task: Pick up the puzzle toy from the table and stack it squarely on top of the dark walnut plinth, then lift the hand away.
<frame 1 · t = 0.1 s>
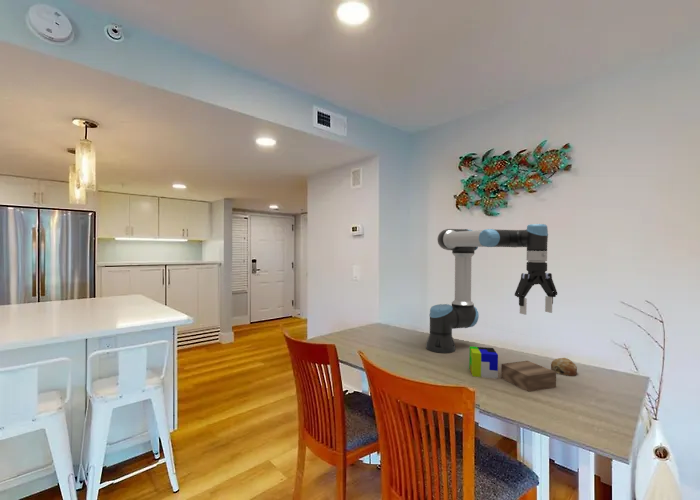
hand: (536, 313, 141), 28 cm above the table, tool pointing down, fingers open, 13 cm apart
walnut plinth: (527, 382, 139), on the table
puzzle toy: (482, 373, 149), on the table
bread roll: (563, 372, 151), on the table
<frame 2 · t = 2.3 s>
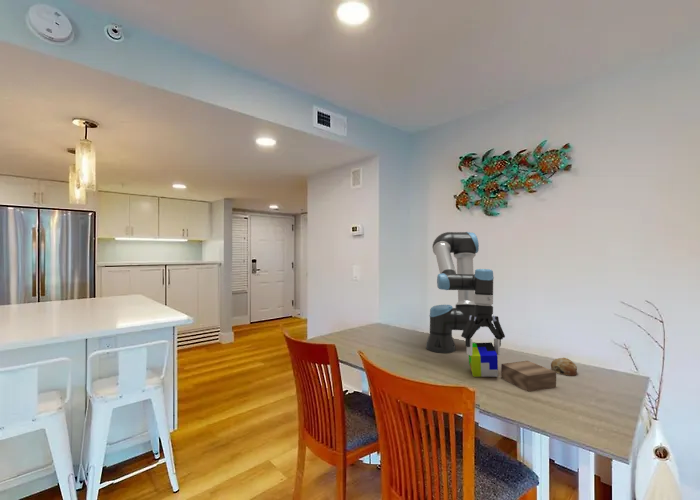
hand: (483, 355, 146), 9 cm above the table, tool pointing down, fingers open, 13 cm apart
puzzle toy: (483, 369, 149), point 2 cm above the table, touching gripper
everything else where it was.
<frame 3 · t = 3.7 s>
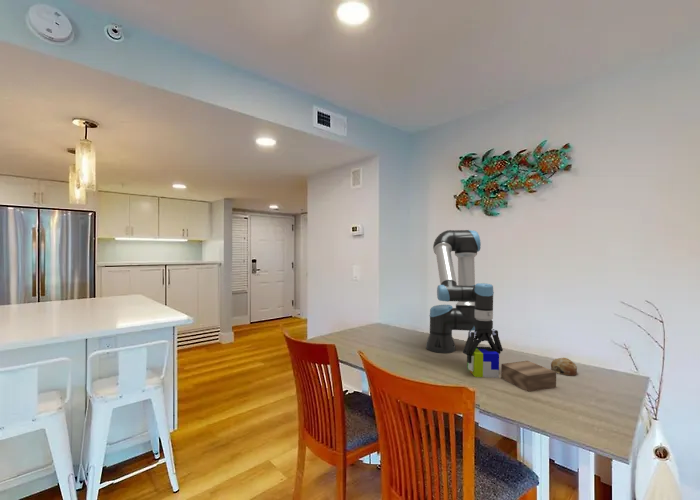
hand: (482, 368, 149), 2 cm above the table, tool pointing down, fingers closed on puzzle toy, 12 cm apart
puzzle toy: (482, 373, 149), on the table, touching gripper
everything else where it was.
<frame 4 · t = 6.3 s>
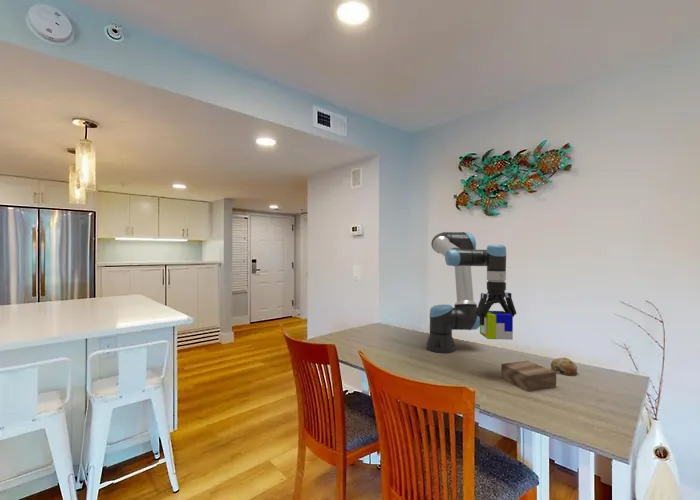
hand: (495, 332, 145), 19 cm above the table, tool pointing down, fingers closed on puzzle toy, 12 cm apart
puzzle toy: (495, 336, 145), point 17 cm above the table, touching gripper
everything else where it was.
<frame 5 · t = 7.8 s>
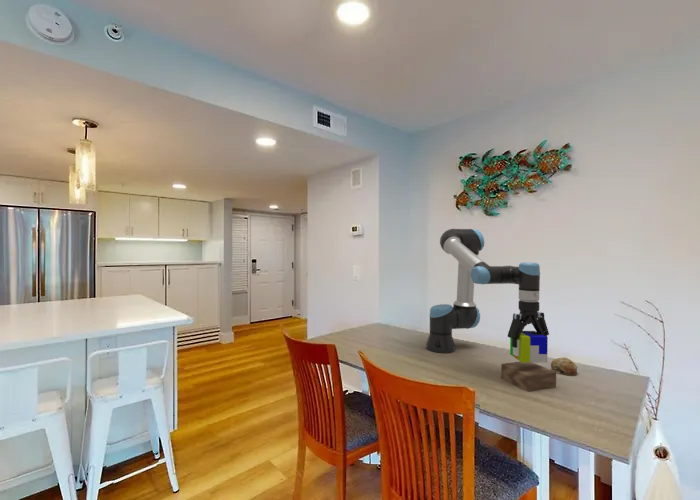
hand: (528, 354, 139), 12 cm above the table, tool pointing down, fingers closed on puzzle toy, 12 cm apart
puzzle toy: (528, 358, 139), point 10 cm above the table, touching gripper
everything else where it was.
when the fingers open (9 cm above the table, at t = 8.9 s): puzzle toy drops 1 cm, resting on walnut plinth.
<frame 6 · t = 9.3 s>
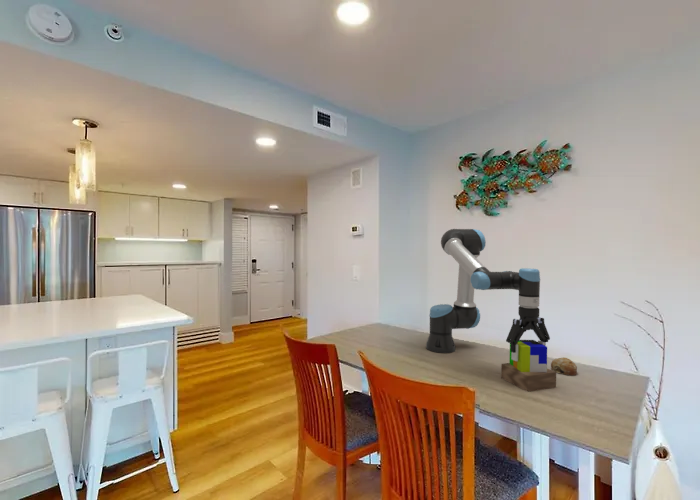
hand: (528, 358, 139), 10 cm above the table, tool pointing down, fingers open, 13 cm apart
puzzle toy: (527, 368, 139), point 6 cm above the table, touching walnut plinth
everything else where it was.
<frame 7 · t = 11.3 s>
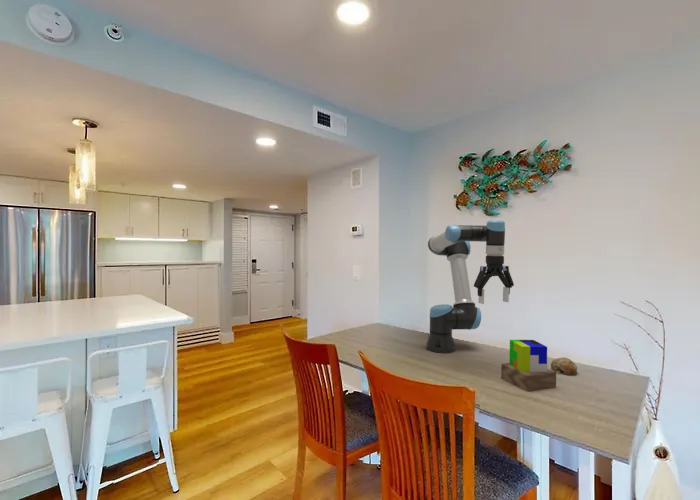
hand: (493, 302, 152), 30 cm above the table, tool pointing down, fingers open, 13 cm apart
nothing on the table moved.
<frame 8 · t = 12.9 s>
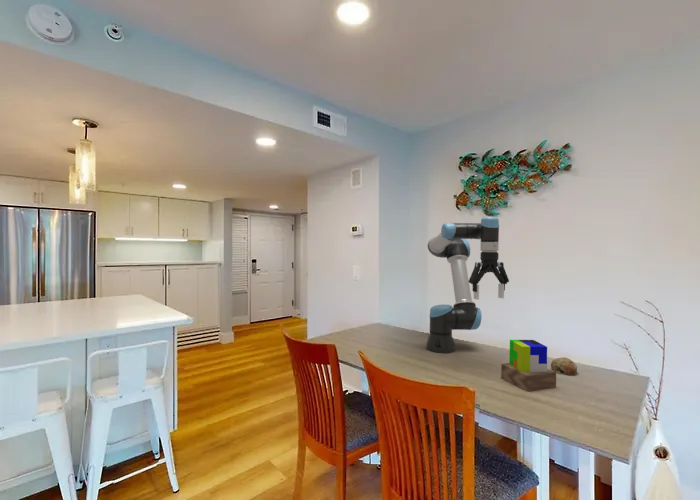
hand: (488, 298, 154), 32 cm above the table, tool pointing down, fingers open, 13 cm apart
nothing on the table moved.
at the end: puzzle toy inside the target area on the walnut plinth (0.3 cm from its centre), point 5.8 cm above the walnut plinth's base; puzzle toy tilted 0°; the gripper is holding nothing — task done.
